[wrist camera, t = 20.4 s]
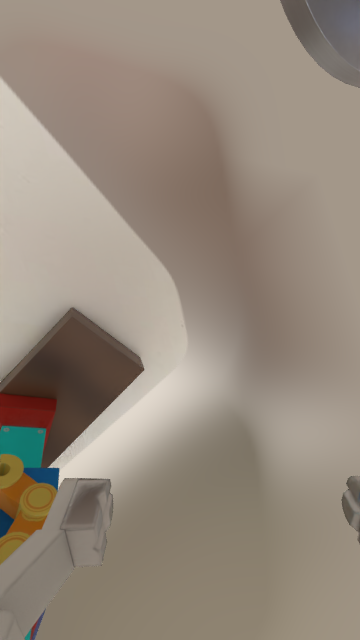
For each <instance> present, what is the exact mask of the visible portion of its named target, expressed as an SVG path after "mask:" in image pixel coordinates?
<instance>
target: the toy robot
mask: <svg viewBox="0 0 360 640" xmlns="http://www.w3.org/2000/svg"><path fill="white" fill-rule="evenodd" d="M56 404H57V399H48V398H39V397H29V396H20V395H10V394H1V393H0V565H1V564H2V563H3V562H4V561H5V560H6V559H7V558H8V557H9V556H10V555H11V554H12V553H13V552H14V551H15V550H16V549H17V548H18V547H19V546H21V545H22V544H23V543H24V542H25V541H26V540H27V539H28V538H29V537H30V536H31V535H32V534H33V533H34V532H35V531H36V530H42V527H43V525H44V523H45V520H46V518H47V515H48V513H49V511H50V508H51V506H52V504H53V501H54V499H55V497H56V494H57V492H58V480H59V479H58V478H59V468H41V462H42V456H43V452H44V449H45V445H46V442H47V439H48V435H49V432H50V429H51V425H52V422H53V418H54V415H55V412H56ZM44 612H45V610H44ZM44 612H43V613H42V614H41V616H40V617H39V618H38V620H37V621H36V623H35V624H34V625H33V627H32V628H31V629H30V631H29V632H28V634H27V635H26V636H25V640H34V639H35V636H36V634H37V631H38V628H39V626H40V623H41V620H42V618H43V615H44Z"/></svg>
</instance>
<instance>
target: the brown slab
mask: <svg viewBox="0 0 360 640" xmlns="http://www.w3.org/2000/svg"><path fill="white" fill-rule="evenodd" d="M143 371H144V367H143V364H142V361H141V359H140V357H139V356H137V355H136V354H135V353H133V352H132V351H131V350H129V349H128V348H127V347H125V346H124V345H123V344H121V343H120V342H118V341H117V340H116V339H114V338H113V337H112V336H110V335H109V334H108V333H106V332H105V331H104V330H102V329H101V328H100V327H98V326H97V325H96V324H94V323H93V322H92V321H90V320H89V319H88V318H86V317H85V316H84V315H82V314H81V313H80V312H78V311H77V310H76V309H74V308H71V309H70V310H69V311H68V312H67V314H66V315H65V316H64V317H63V318H62V319H61V320H60V321H59V322H58V323H57V324H56V325H55V326H54V327H53V328H52V329H51V330H50V331H49V332H48V333H47V335H46V336H45V337H44V338H43V339H42V340H41V341H40V342H39V343H38V344H37V345H36V346H35V347H34V348H33V349H32V350H31V351H30V352H29V353H28V354H27V356H26V357H25V358H24V359H23V360H22V361H21V362H20V363H19V364H18V365H17V366H16V367H15V368H14V369H13V370H12V371H11V372H10V373H9V374H8V375H7V377H6V378H5V379H4V380H3V381H2V382H1V383H0V393H1V394H10V395H20V396H29V397H39V398H48V399H57V404H56V412H55V415H54V418H53V422H52V425H51V429H50V432H49V435H48V439H47V442H46V445H45V449H44V452H43V456H42V462H41V468H48V467H49V466H50V465H51V464H52V463H53V462H54V461H55V460H56V459H57V458H58V457H59V456H60V455H61V454H62V452H63V451H64V450H65V449H66V448H67V447H68V446H69V445H70V444H71V443H72V442H73V441H74V440H75V439H76V438H77V437H78V436H79V435H80V434H81V433H82V432H83V431H84V430H85V429H86V428H87V427H88V426H89V425H90V424H91V423H92V422H93V421H94V420H95V419H96V418H97V417H98V416H99V415H100V414H101V413H102V412H103V411H104V410H105V409H106V408H107V407H108V406H109V405H110V404H111V403H112V402H113V401H114V400H115V399H116V398H117V397H118V396H119V395H120V394H121V393H122V392H123V391H124V390H125V389H126V388H127V387H128V386H129V385H130V384H131V383H132V382H133V381H134V380H135V379H136V378H137V377H138V376H139V375H140V374H141V373H142V372H143Z"/></svg>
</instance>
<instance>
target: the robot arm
mask: <svg viewBox="0 0 360 640" xmlns="http://www.w3.org/2000/svg"><path fill="white" fill-rule="evenodd" d="M346 484H347V486H348V488H349V489H348V490H347V491H345V492H344V493H343V497H342V507H343V511H344V514H345V517H346V519H347V521H348V523H349V525H351V526H352V527H353V528H354V529H355V530H356V531H358V541H359V543H360V476H351V477H349V478H348V480H347V483H346ZM110 488H111V482H110V479H85V478H84V479H82V478H65V479H64V480H63V482H62V483H61V485H60V487H59V490H58V492H57V494H56V497H55V499H54V501H53V504H52V506H51V508H50V511H49V513H48V515H47V518H46V520H45V523H44V525H43V527H42V530H36V531H35V532H34V533H33V534H32V535H31V536H30V537H29V538H28V539H27V540H26V541H25V542H24V543H23V544H22V545H21V546H19V547H18V548H17V549H16V550H15V551H14V552H13V553H12V554H11V555H10V556H9V557H8V558H7V559H6V560H5V561H4V562H3V563H2V564H1V565H0V640H25V636H26V635H27V634H28V632H29V631H30V629H31V628H32V627H33V625H34V624H35V623H36V621H37V620H38V618H39V617H40V616H41V614H42V613H43V612H44V610H45V609H46V607H47V606H48V604H49V603H50V602H51V600H52V599H53V598H54V596H55V595H56V594H57V592H58V591H59V589H60V588H61V587H62V585H63V584H64V583H65V581H66V580H67V578H68V577H69V576H70V574H71V573H72V572H73V570H74V567H89V566H102V562H103V557H104V553H105V549H106V544H107V539H106V533H105V532H106V531H107V530H108V529H109V528H110V525H111V520H112V513H113V495H112V494H111V493H110Z"/></svg>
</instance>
